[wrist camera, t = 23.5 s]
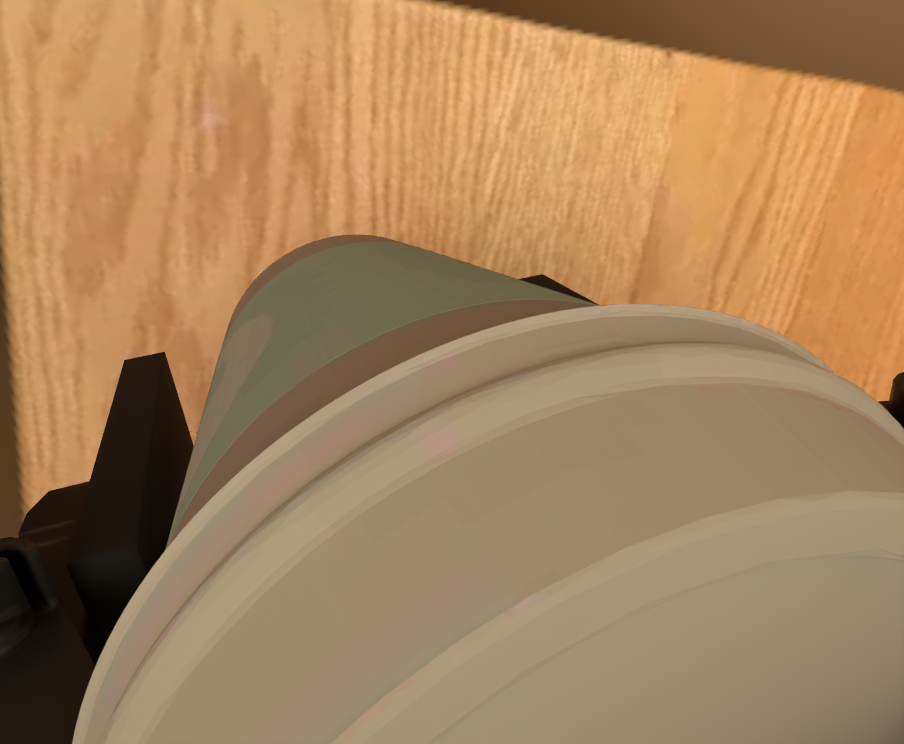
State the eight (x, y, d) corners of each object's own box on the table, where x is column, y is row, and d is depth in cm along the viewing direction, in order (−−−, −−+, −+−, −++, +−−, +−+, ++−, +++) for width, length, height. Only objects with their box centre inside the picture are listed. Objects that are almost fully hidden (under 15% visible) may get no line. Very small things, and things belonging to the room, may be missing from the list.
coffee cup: (155, 137, 12) (-83, 385, 2) (555, 196, 16) (1275, 414, 5) (150, 527, 15) (39, 1466, 5) (488, 510, 18) (865, 1063, 8)
